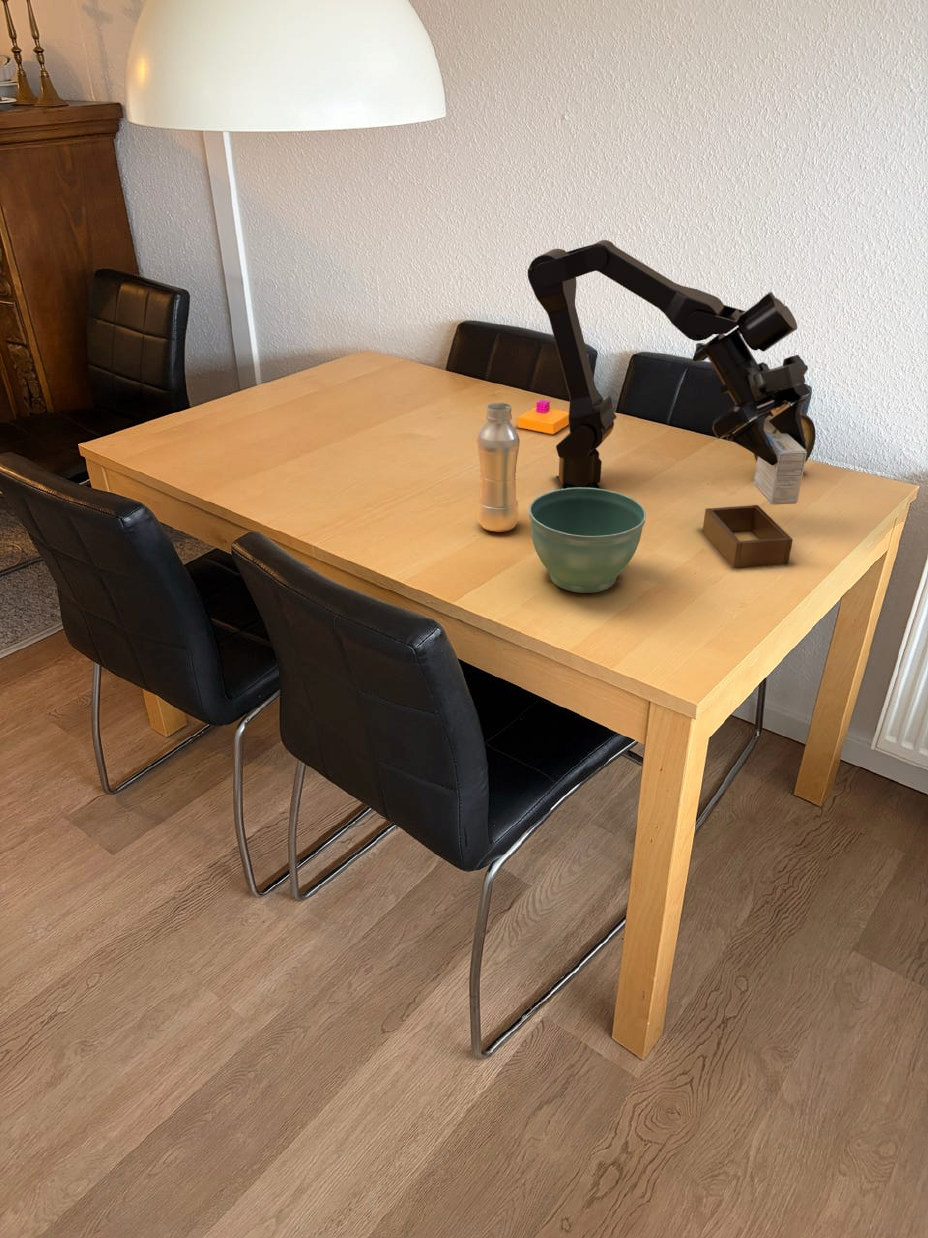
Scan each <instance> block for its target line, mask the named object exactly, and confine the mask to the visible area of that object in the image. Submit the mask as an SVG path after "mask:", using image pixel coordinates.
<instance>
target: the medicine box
mask: <svg viewBox="0 0 928 1238" xmlns="http://www.w3.org/2000/svg"><path fill="white" fill-rule="evenodd" d="M766 435H767V437H768V439H769V441H770V443H771V446H772V448H773V450H774V452H775V454H776V457H777V459H778V463H776V464H775V465H770V464H769V463H767V462H766V461H764V460H763V459H761V458H760V457H758V459H757V462H756V465H755V470H754V477H753V486H754V487H755V488H756V489H757V490H758V491H759V492H760V494H761V495H762V496H763V497H764V498H765V499H766V500H767V502H769V504H770V505H793V504H794V505H796V504H797V503H798V502H799V497H800V492H801V486H802V481H803V475H804V471H805V465H806V462H805V460H806V454H807V452H806V450H805V449H804V448H802V447H801V446H800V445H799V444H798V443H797V442H796V441H795V440H794V439H793V438H792V437H791V436H790V435H789V434H766Z"/></svg>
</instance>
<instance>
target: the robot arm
mask: <svg viewBox="0 0 928 1238" xmlns="http://www.w3.org/2000/svg"><path fill="white" fill-rule="evenodd" d="M593 272H598V273H600V274H602V275H604V276H605V277H607V278H608V279H609V280H612V281H613V282H614V283H616V284H618V285H619V286H621V287H623V288H625V289H626V290H628V291H629V292H631V293H633V294H634V295H636V296H637V297H639V298H641V299H643V300H644V301H646V302H648V303H649V304H651V305H652V306H654V307H655V308H657V309H658V310H659V311H661V312H662V313H663V314H664V316H665V317H666V318H667V319H668V320H669V322H670V323H671V324H672V326H674V328H676V329H677V330H678V331H679V332H681V334H683V335H684V336H685V337H686V338H687V339H689V340H691V341H694V342H697V343H696V344H695V351H694V354H693V356H692V361H693V362H703V361H705V360H707V359H708V361H710V363H711V365H712V367H713V369H714V370H715V372H716V374H717V376H719V379H720V380H721V382H722V384H723V385H722V386H721V387H719V390H720V392H721V394H722V395H724V394H727V393H728V394H729V396H730V397H731V399H732V401H733V402H734V404H735V405H733V406H732V407H731V408H729V409H728V410H726V411H725V412H724V413H722V414H721V415H719V416H718V417H716V418H715V419H714V420H713V421H712V427H711V430H712V432H713V433H714V434H715V436H716V438H717V440H721V439H724V438H726V440H727V441H728V442H730V441H731V442H733V443H735V444H737V445H739V446H741V447H742V448H744V449H746V450H748V451H749V452H750V453H752V454H753V455H754V454H755V455H757V456H758V457H760V458H761V459H763V460H764V461H766V462H767V463H769V464H770V465H775V464H776V463H778V459H777V457H776V454H775V452H774V450H773V448H772V446H771V443H770V441H769V439H768V437H767V435H766V433H765V431H764V421H765V419H766V415H765V414H767V416H769V415H770V416H772V417H773V416H774V418H772V419H771V420H769V422H770V423H771V424H772V425H773V426H774V427H775V428H776V429H777V430H778V431H779V432H780V433H781V434H789V435H790V436H791V437H792V438H793V439H794V440H795V441H796V442H797V443H798V444H799V445H800V446H801V447H802V448H804V449H806V448H807V447H806V442H805V437H804V433H803V428H802V423H801V416H800V413H802V409H803V406H804V404H805V403H806V402H807V396H809V395H811V392H810V390H809V388H808V387H807V385H806V378H805V374H806V373H807V371H808V369H809V367H808V365H807V364H805V361H804V360H803V359H802V358H801V356H800V355H799V354H795V355H791V356H788V357H785V358H784V359H783V361H782V365H780V366H777V367H773V368H770V367H769V366H768V364H767V363H766V362H763V361H761V362H760V363H758V362H757V360H756V358H755V357H754V355H753V353H752V351H755V352H757V351H758V350H760V351H761V352H766V351H767V350H769V349H770V348H772V347H773V346H775V345H777V344H778V343H779V342H781V341H782V340H784V339H785V338H786V337H789V335H791V334H792V333H793V332H795V331H797V330H798V323H797V321H796V318H795V317H794V315H793V313H792V311H791V310H790V308H789V306H787V305H785V304H784V303H783V302H782V301H781V300H780V299H779V298H777V297H776V296H775V295H774V293H773V291H769V292H768V293H766V294H765V295H764V296H762V297H761V298H760V300H759V301H757V302H756V303H755V304H753V305H752V306H750V307H749V308H748V309H746V310H744V309H740V308H736V307H733V306H730V305H726V304H724V303H723V301H722V300H721V299H720V298H719V297H718V296H716V295H713V294H711V293H708V292H705V291H703V290H700V289H697V288H693V287H690V286H685V285H681V284H679V283H676V282H674V281H673V280H671V279H670V278H668V277H666V276H664V275H663V274H662V273H660V272H659V271H656V270H655V269H653V268H652V267H650V266H649V265H647V264H645V263H644V262H642V261H640V260H638V259H637V258H636V257H633V256H632V255H630V254H629V253H627V252H625V251H624V250H622V249H620V248H619V247H617V246H616V245H615V244H614V243H613V242H612V241H610V240H608V239H601V240H599V241H597V242H595V243H593V244H589V245H586V246H582V247H578V248H574V249H572V250H568V251H566V250H565V249H563V248H553V249H551V250H549V251H546V252H545V253H542V254H541V255H539V256H537V257H535V258H534V259H533V260H532V261H531V262H530V264H529V266H528V268H527V280H528V283H529V284H530V287H531V289H532V292H533V293H534V296H535V298H536V300H537V301H538V303H539V304H540V305H541V306H542V308H543V309H544V311H545V312H546V314H547V317H548V320H549V323H550V327H551V331H552V335H553V338H554V342H555V346H556V350H557V354H558V358H559V361H560V366H561V369H562V373H563V376H564V381H565V384H566V389H567V392H568V396H569V406H568V407H569V408H568V412H569V425H568V429H569V433H567V435H566V436H564V438H562V439H561V440H560V441H559V442H558V443H557V444H556V445H555V449H556V452H557V455H558V458H559V460H558V475H556V476H555V480H556V482H557V483H558V485H559V487H560V489H566V488H578V487H581V488H597V489H601V486H600V483H601V478H602V477H601V476H602V460H601V458H600V452H599V451H598V449H597V448H599V447H600V446H601V445H602V443H603V442H605V441H606V439H607V438H608V437H609V436H610V435H611V434H612V432H613V430H614V429H615V428H614V427H615V420H616V419H617V415H616V413H615V411H614V409H613V402H612V401H613V400H612V397H611V395H607V396H604V397H603V396H602V395H601V393H600V392H599V390H598V389H597V386H596V383H595V378H594V374H593V371H592V368H591V362H590V358H589V355H588V350H587V347H586V343H585V339H584V334H583V331H582V327H581V322H580V319H579V316H578V312H577V308H576V298H577V297H576V295H577V283H578V282H577V278H578V277H581V276H584V275H587V274H589V273H593ZM713 335H716V336H714V337H713V338H711V337H712V336H713ZM709 338H711V339H710V340H709V341H707V342H705V343H704V342H702V341H704V340H707V339H709ZM700 341H701V342H700ZM751 350H752V351H751Z"/></svg>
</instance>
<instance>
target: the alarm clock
mask: <svg viewBox="0 0 928 1238" xmlns="http://www.w3.org/2000/svg"><path fill="white" fill-rule="evenodd" d="M800 416H801V423H802V428H803V433H804V437H805V442H806V447H807V448H806V449H805V450H806V452H807V454H806V460H805V463H806V462H807V461H808V460H809V459H810V457H811V455H812V452H813V450H814V448H815V443H816V437H817V435H816V434H817V433H816V427H815V423H814V421H813V420H812V418H811V417H810V416H809V415H807V414H805V413H802V412H801V413H800ZM772 418H774V416H773V417H772V416H770V415H767V416H766V417H765V421H764V431H765V433H766V434H781V433H780V432H779V431H778V430H777V429H776V428H775V427H774V426H773V425H772V424H771V423H770V422H769V420H771V419H772ZM753 457H754V459H755V461H756V463H757V459H758V456H757V455H755V454H754V453H753Z"/></svg>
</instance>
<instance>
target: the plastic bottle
mask: <svg viewBox="0 0 928 1238" xmlns="http://www.w3.org/2000/svg"><path fill="white" fill-rule="evenodd" d="M485 419H486V420H487V421H486V422H485V424H484V425H483V426H482V427H481V430H480V431H479V432H478V435H477V438H476V439H477V440H476V444H477V451H478V452H477V453H478V459H479V466H480V467H479V468H480V492H479V493H480V494H479V500H478V504H477V511H476V513H477V520H478V523H479V524H480V526H481V527H482V528H483V529H485V530H486V531H490V532H495V533H501V532H502V533H503V532H508V531H511V530H512V529H514V528H515V527H516V526H517V524H518V522H519V518H520V509H519V503H518V502H519V501H518V500H517V488H516V487H517V485H516V477H517V475H516V473H517V463H518V456H519V450H520V444H521V443H520V441H521V440H520V435H519V433H518V432H517V430H516V428H515V427H514V425H513V424H512V423H511V420H512V419H513V415H512V405H511V404H509V403H505V402H491V403H489V404H487V405H486V414H485Z"/></svg>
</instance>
